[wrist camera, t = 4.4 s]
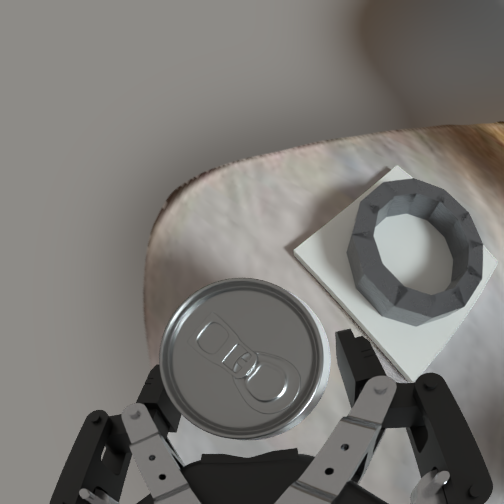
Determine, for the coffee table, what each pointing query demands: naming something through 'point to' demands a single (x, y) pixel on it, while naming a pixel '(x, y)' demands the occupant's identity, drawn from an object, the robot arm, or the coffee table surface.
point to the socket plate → (403, 268)
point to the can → (244, 359)
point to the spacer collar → (384, 282)
